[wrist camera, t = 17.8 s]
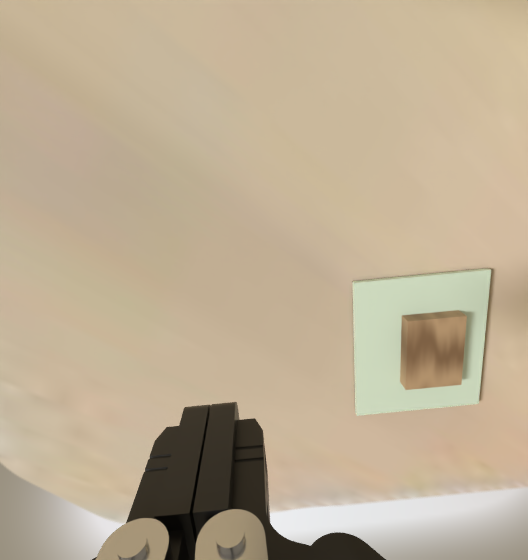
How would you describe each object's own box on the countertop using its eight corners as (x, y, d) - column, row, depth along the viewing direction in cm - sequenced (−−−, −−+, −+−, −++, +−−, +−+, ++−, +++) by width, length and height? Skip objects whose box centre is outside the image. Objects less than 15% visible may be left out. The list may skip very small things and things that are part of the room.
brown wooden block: (407, 321, 37) (467, 315, 37) (401, 315, 39) (458, 310, 39) (405, 390, 40) (461, 384, 40) (400, 381, 41) (453, 376, 41)
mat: (352, 281, 38) (354, 282, 38) (487, 268, 38) (491, 269, 38) (355, 412, 43) (356, 415, 42) (475, 400, 43) (478, 403, 42)
